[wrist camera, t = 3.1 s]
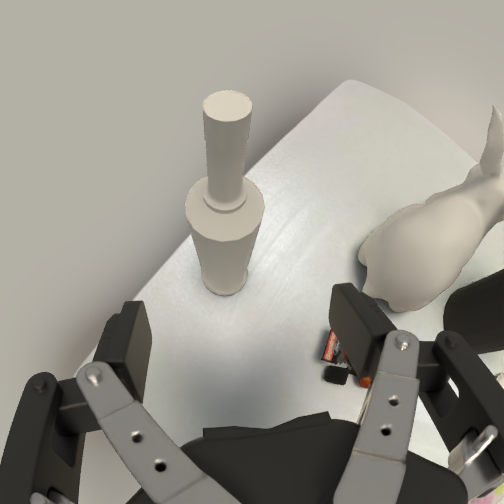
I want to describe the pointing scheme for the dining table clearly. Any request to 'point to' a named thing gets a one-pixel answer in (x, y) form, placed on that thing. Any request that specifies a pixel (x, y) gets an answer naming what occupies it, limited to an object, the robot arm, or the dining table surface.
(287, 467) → the robot arm
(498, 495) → the decorative item
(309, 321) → the dining table surface
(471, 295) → the vase
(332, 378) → the toy car
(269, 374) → the dining table surface
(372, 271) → the rabbit
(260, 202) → the bottle
